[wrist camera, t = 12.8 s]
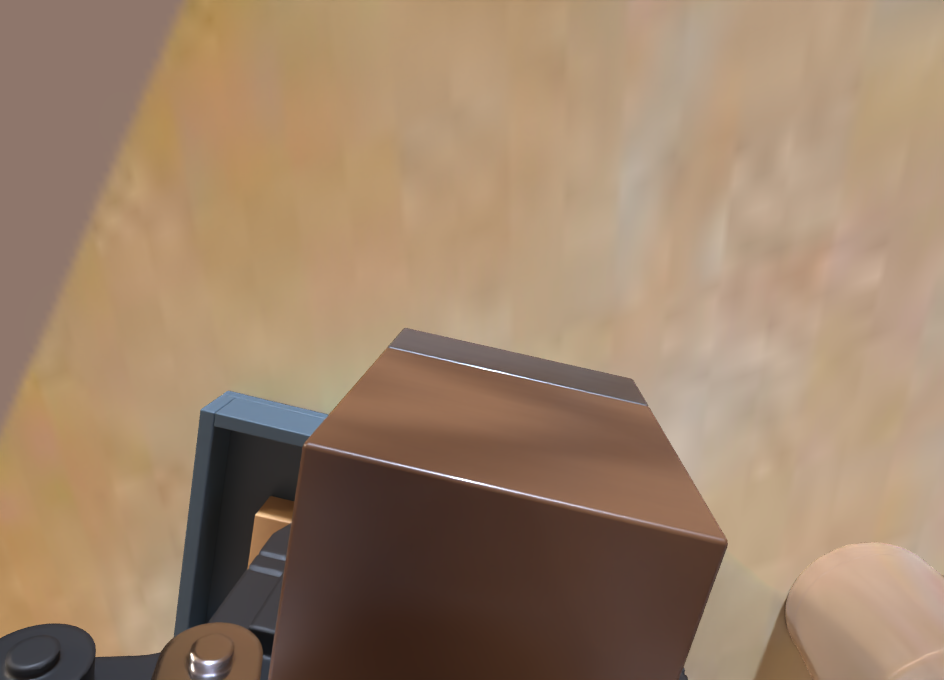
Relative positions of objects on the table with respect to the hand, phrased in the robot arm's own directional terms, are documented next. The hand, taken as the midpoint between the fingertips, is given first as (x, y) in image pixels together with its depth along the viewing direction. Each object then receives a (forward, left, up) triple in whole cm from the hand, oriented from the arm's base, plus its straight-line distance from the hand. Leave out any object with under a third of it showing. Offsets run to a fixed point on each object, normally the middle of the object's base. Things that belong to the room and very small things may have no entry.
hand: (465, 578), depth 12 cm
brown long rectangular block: (0, 0, -1) cm, 1 cm away
